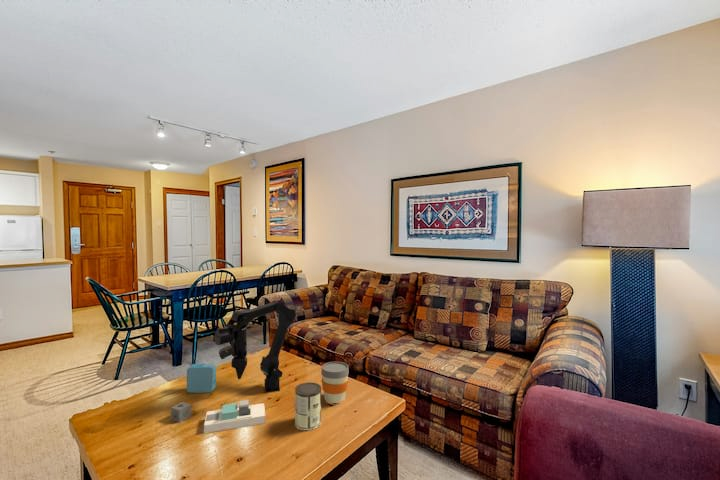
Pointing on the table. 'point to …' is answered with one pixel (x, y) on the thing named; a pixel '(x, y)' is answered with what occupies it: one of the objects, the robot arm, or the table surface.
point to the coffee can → (307, 406)
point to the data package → (201, 378)
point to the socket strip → (234, 419)
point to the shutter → (229, 411)
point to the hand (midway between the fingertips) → (239, 374)
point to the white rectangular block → (243, 407)
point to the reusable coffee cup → (334, 381)
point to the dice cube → (180, 412)
